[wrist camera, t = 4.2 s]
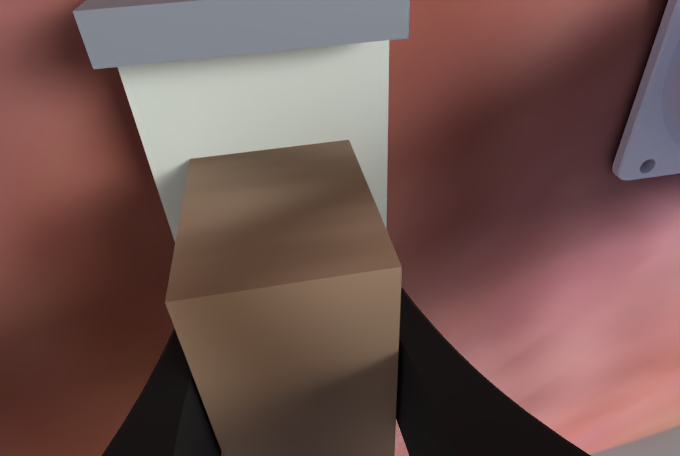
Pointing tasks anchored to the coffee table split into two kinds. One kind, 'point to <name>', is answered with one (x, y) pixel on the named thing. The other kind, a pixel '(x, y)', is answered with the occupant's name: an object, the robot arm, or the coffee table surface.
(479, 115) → the coffee table surface
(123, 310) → the coffee table surface
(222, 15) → the rail
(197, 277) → the tan cardboard box
